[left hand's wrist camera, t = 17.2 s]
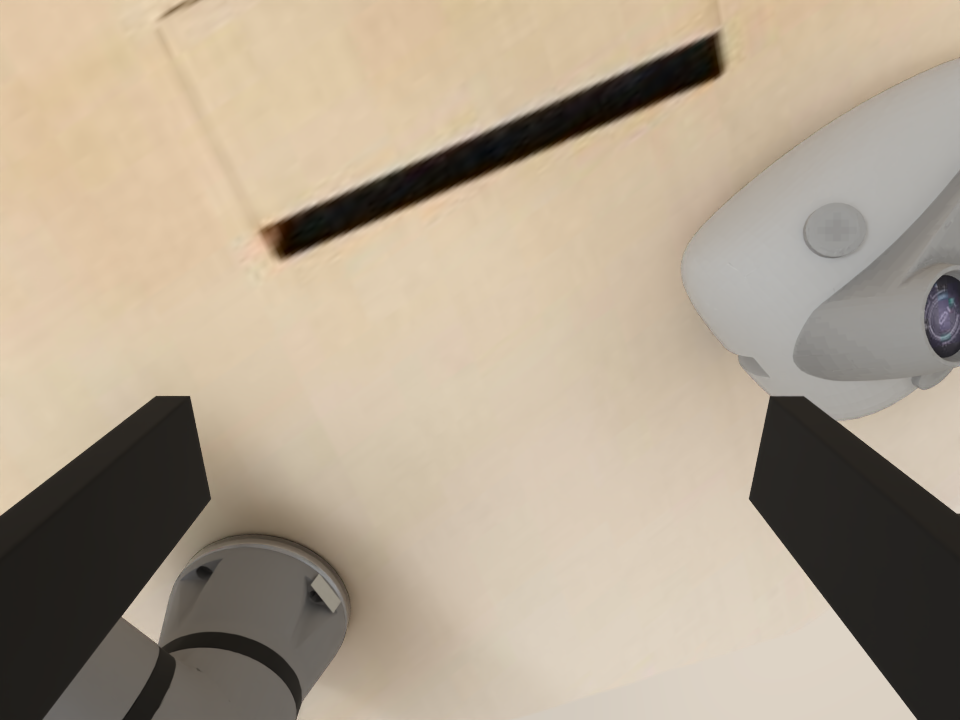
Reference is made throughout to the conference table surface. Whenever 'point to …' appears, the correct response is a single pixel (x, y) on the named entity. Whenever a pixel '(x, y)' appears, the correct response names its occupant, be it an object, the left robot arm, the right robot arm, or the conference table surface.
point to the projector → (845, 255)
